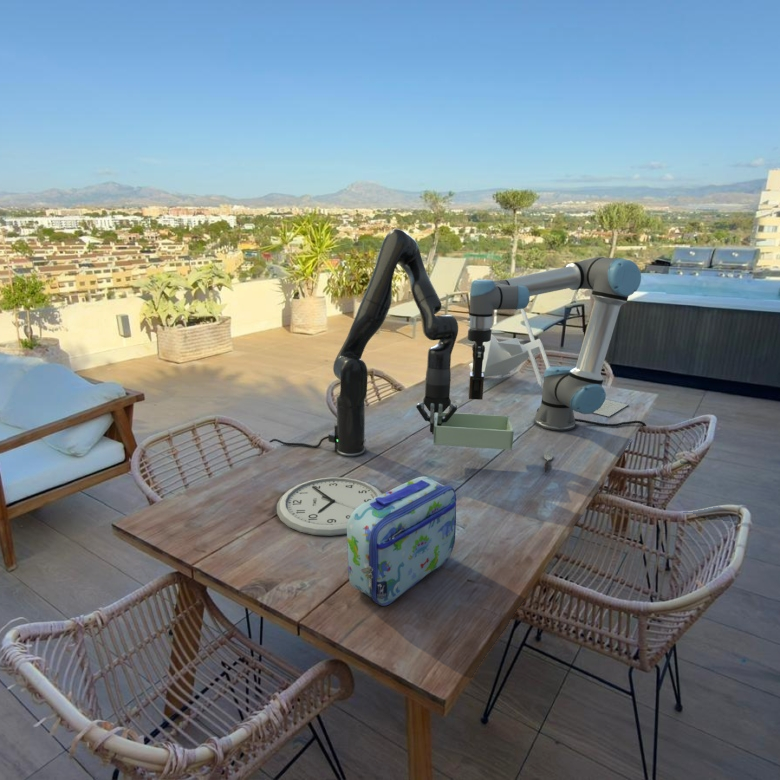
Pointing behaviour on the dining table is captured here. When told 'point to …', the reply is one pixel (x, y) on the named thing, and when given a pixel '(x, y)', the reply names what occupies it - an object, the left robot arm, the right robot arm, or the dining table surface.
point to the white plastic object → (511, 354)
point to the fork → (547, 459)
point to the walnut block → (471, 386)
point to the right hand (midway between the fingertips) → (475, 396)
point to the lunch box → (400, 538)
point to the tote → (474, 431)
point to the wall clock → (324, 504)
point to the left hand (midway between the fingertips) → (435, 433)
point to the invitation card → (610, 408)
